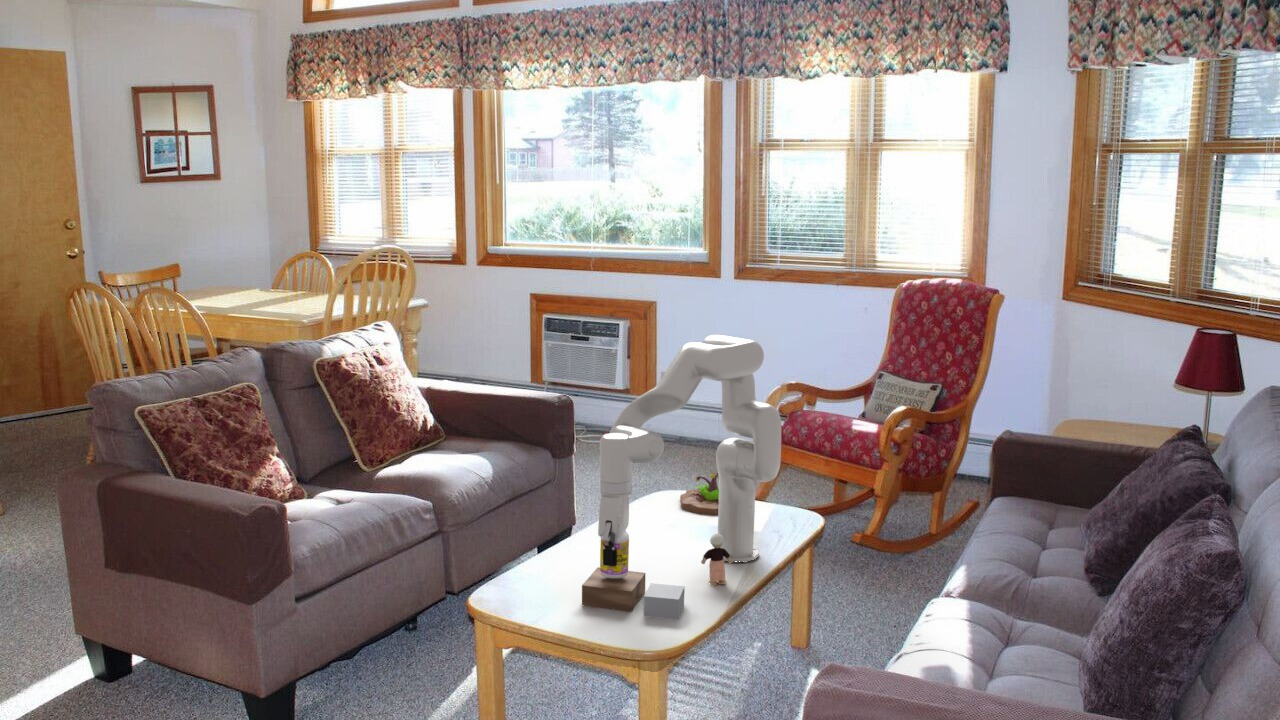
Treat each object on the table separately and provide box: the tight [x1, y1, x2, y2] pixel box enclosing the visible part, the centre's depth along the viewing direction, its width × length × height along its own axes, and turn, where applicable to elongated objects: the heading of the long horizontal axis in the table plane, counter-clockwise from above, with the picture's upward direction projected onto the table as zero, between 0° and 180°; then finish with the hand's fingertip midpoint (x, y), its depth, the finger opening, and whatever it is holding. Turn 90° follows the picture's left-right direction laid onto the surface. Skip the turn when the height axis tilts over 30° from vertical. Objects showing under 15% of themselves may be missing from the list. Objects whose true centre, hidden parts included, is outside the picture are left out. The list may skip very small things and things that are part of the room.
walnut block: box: [581, 566, 646, 613], centre depth 250 cm, size 12×12×5 cm
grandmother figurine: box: [700, 533, 733, 586], centre depth 260 cm, size 8×4×13 cm, turn 111°
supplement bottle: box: [599, 524, 630, 578], centre depth 249 cm, size 7×7×13 cm
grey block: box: [643, 583, 685, 620], centre depth 244 cm, size 8×8×5 cm
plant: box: [679, 471, 719, 516], centre depth 323 cm, size 20×20×11 cm
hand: (614, 559), depth 249 cm, fingers closed on supplement bottle, 6 cm apart
